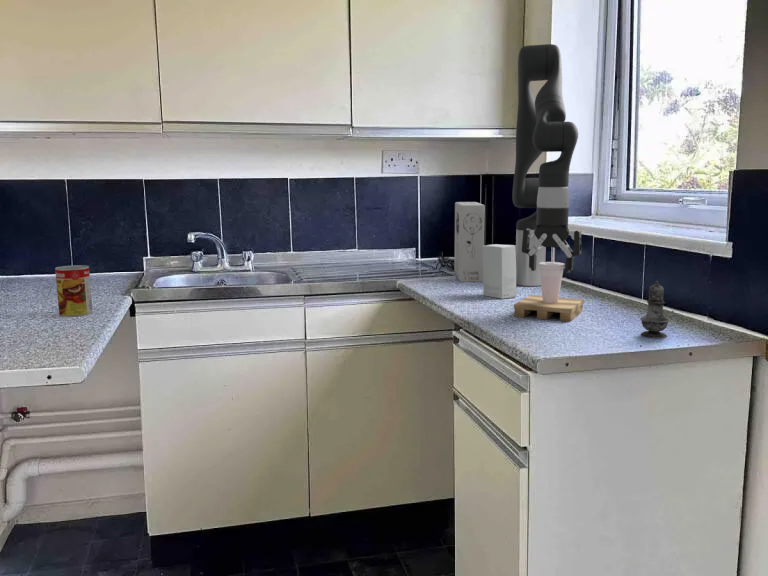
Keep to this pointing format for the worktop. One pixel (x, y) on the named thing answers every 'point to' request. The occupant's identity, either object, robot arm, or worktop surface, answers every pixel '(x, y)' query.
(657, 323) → the salt shaker
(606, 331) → the worktop surface
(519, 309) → the tan wavy panel
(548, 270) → the smoothie
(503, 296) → the skincare box
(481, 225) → the cereal box
